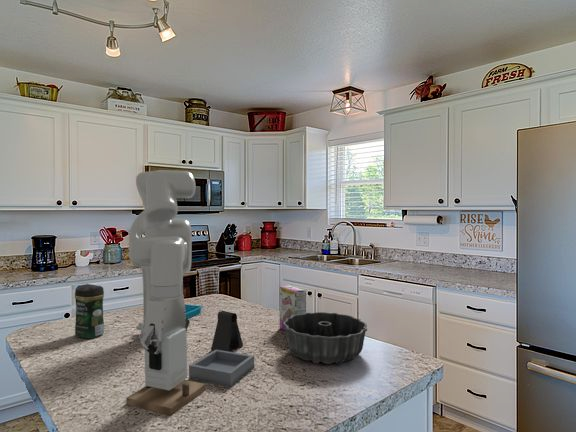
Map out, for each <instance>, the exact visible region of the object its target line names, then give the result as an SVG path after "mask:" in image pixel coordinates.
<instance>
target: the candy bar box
mask: <svg viewBox="0 0 576 432" xmlns="http://www.w3.org/2000/svg"><path fill="white" fill-rule="evenodd" d="M278 287H279V288H278V289H279V329H280V330H283V331H285V327H284V325H283V323H284V321H286V318H290V317H291V316H293V315H297V314H304V313H307V290H305V289H302V288H300V287H297V286H293V285H280V286H278Z"/></svg>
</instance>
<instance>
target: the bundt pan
mask: <svg viewBox="0 0 576 432" xmlns="http://www.w3.org/2000/svg"><path fill="white" fill-rule="evenodd" d="M283 325H284V327H285V330H284V332H285V338H286V343H287V346H288V348H289V350H290V352H291V353H292V354H293V356H295V357H297V358H300V359H302V360H303V361H307V362H309V361H312V362H313V363H314V364H318V363H320V362H321V363H323V364H326V365H330V364H333V363H336V364H338V365H339V364H343V362H348V361H351V360H353V359H354V358H355V357H357V356H358V355H360V354H361V352H362V351H363V347H364V343H365V336H366V332H368V328H367V327H368V324H367V323H366V322H364V321H362V320H361V319H360V318H358V317H354V316H351V315H348V314H343V313H342V314H340V313H337V312H325V311H320V312H319V311H318V312H317V311H316V312H306V313H304V314H297V315H293V316H291V317H290V318H286V321H284V323H283Z"/></svg>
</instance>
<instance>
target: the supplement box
mask: <svg viewBox="0 0 576 432" xmlns="http://www.w3.org/2000/svg"><path fill="white" fill-rule="evenodd" d="M187 332H188V328H187V329H184V328H183V329H181V330H178V331H176V332H174V333H172V334H170V335H168V336H166V337H165V338H164V341H163V342H161V349H160V352H159V353H161V370H154V369H150V368H149V353H148V352H147V350H145V349H144V382H145V383H144V384H145V385H144V387H145V386H150V387H155V388H159V389H164V390H171V389H172V388H174V387H175V386H177V385H178V384H180V383H181V382H182V381H184V380H187V379H188V349H187V348H188V345H187V343H188V341H187V337H188V335H187ZM153 339H157V337H156V336H155V335H154V336H153ZM150 340H151V339H150ZM156 345H157V342H154V346H155V347H156Z"/></svg>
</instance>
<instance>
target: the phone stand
mask: <svg viewBox="0 0 576 432" xmlns="http://www.w3.org/2000/svg"><path fill="white" fill-rule="evenodd" d="M243 347H244V343H243V340H242V336H241V331H240V328H239V324H238V315H237V313H235V312H230V311H225V310H221V311H220V310H219V311H218V313H217V323H216V327H215V331H214V335H213V339H212V343H211V348H210V351H211V352H213V351H214V350H222V351H228V352H234V351H236V350H238V349H241V348H243Z"/></svg>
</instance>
